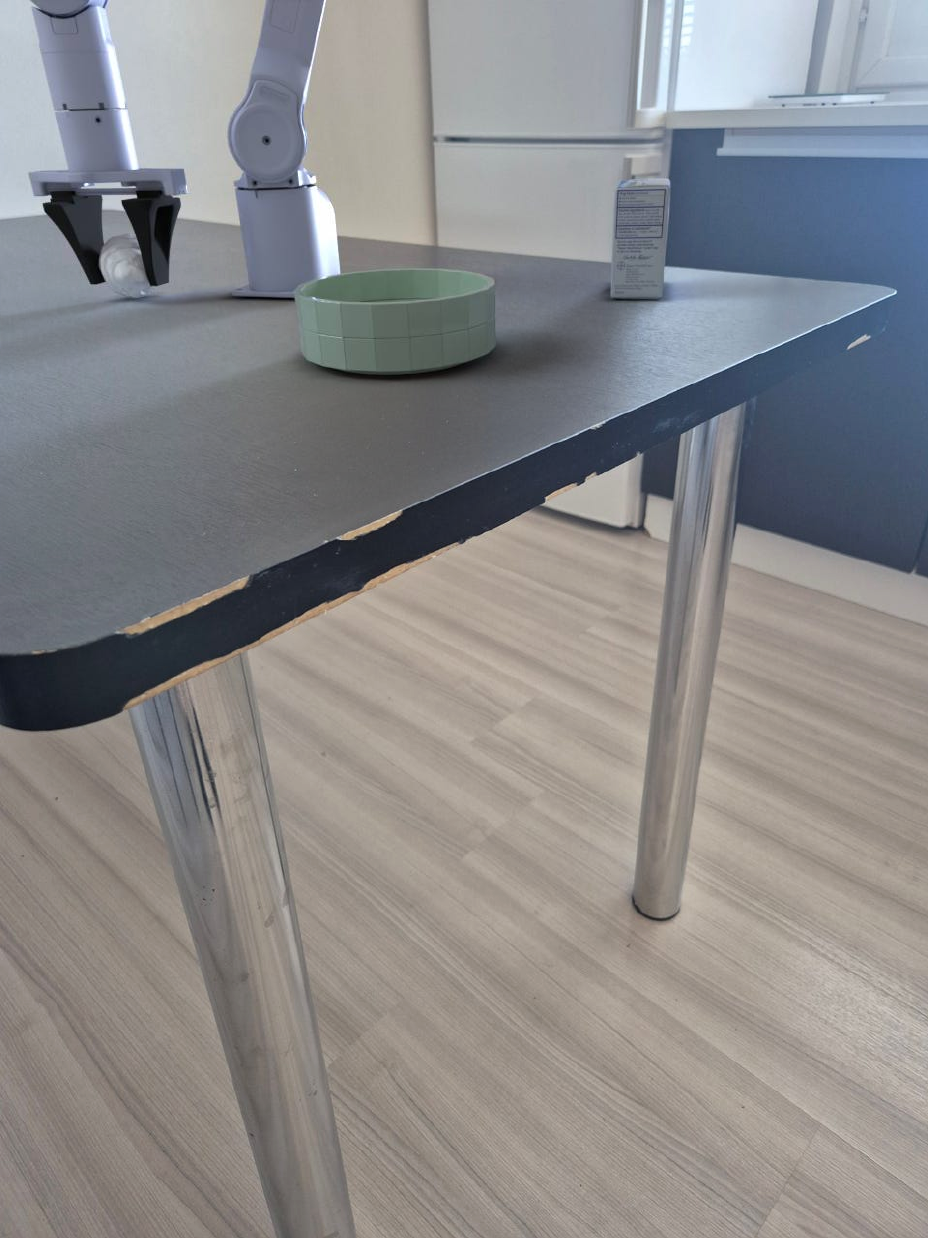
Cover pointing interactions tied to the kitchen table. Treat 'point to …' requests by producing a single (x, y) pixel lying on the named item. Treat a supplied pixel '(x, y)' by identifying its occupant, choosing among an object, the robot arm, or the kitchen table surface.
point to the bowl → (396, 320)
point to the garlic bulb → (124, 267)
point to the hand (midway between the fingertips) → (129, 283)
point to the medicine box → (639, 238)
